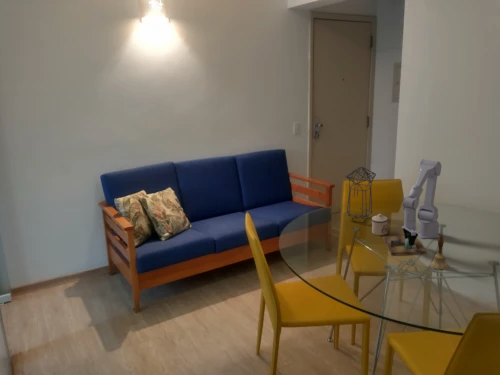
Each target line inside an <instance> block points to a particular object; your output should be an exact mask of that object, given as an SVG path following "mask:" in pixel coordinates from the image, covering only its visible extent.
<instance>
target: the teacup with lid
mask: <svg viewBox="0 0 500 375" xmlns="http://www.w3.org/2000/svg"><path fill="white" fill-rule="evenodd" d="M388 220H389V219H388V217H387V216H385V215H382V214H381V213H378V214H377V215H374V216H372V217H371V232H372V234H373V235H375V236H385V235H387V234H388Z"/></svg>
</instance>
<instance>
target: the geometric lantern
mask: <svg viewBox="0 0 500 375" xmlns="http://www.w3.org/2000/svg"><path fill="white" fill-rule="evenodd" d="M362 174H363V175H362ZM376 175H377V173H375V172H373V171H371V170H370V169H367V168H366V167H363V166H359V167H356V169H354V170H352V171H351V172H350V173H348V174H347V175H345V178H347V179H348V188H349V190H348V198H347V205H346V206H347V208H346V215H347V216H349V217H350V216H351V217H354V216H356V217H357V218H360V219H364V220H365V219H366V217H367V218H368V217H369V215H371V214H372V213H373V198H372V196H373V195H372V185H373V181H374V179H375V178H376ZM356 176H357V178H355V177H356ZM360 176H361V178H359V177H360ZM363 178H364V179H363ZM355 180H356V182H355ZM366 181H368V184H364V186H365V189H364V190H363V188H362V186H363V184H361V183H364V182H366ZM351 182H352V184H351ZM353 186H354V188H352V187H353ZM356 187H357V189H356ZM359 188H360V189H359ZM351 190H352V191H353V197H354V196H355V194H356V197H357V196H358V197H359V191H360V192H362V196H361V197H362V198H361V201H362V203H361V209H362V210H361V214H362V215H360V216H361V217H360V216H359V215H356V214H355V215H353V214H351V211H350V210H351V208H350V207H351V192H352V191H351ZM368 190H369V198H370V201H369V202H368V203H365V209H364V198H365V200H367V191H368ZM364 196H365V197H364ZM367 204H369V206H367ZM367 207H369V208H368V209H367ZM363 209H364V210H363ZM364 211H365V215H363V214H364ZM367 213H368V214H367ZM356 217H355V218H356Z"/></svg>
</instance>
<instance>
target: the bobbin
mask: <svg viewBox="0 0 500 375" xmlns="http://www.w3.org/2000/svg"><path fill="white" fill-rule="evenodd" d="M404 249H414V245H413V246H409V241H408V238H407V239H405V245H404Z"/></svg>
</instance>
